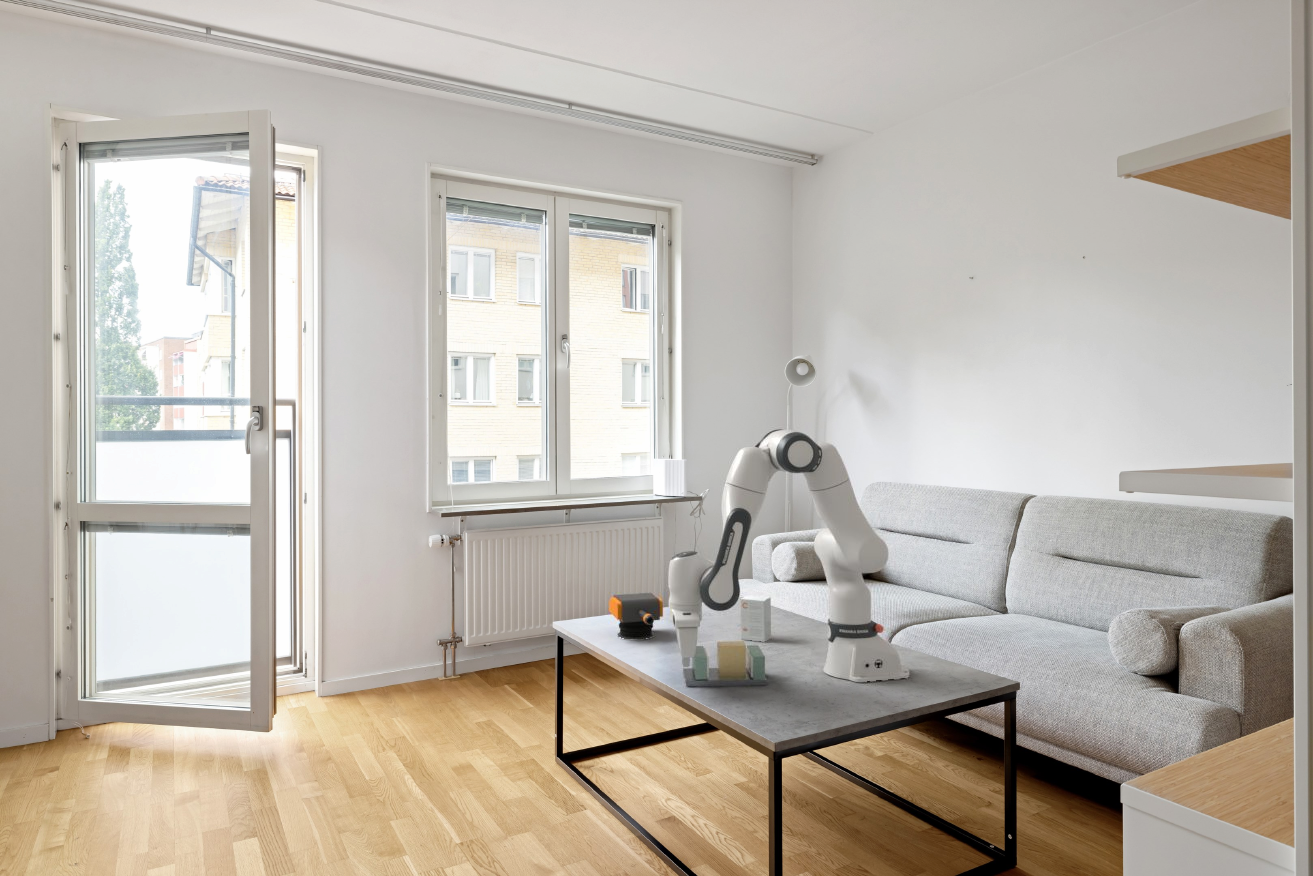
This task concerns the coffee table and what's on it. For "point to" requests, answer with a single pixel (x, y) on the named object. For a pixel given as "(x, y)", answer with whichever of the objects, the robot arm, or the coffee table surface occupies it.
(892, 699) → the coffee table surface
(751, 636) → the small box
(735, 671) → the brass block
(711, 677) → the vise
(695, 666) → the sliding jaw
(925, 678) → the coffee table surface
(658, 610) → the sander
